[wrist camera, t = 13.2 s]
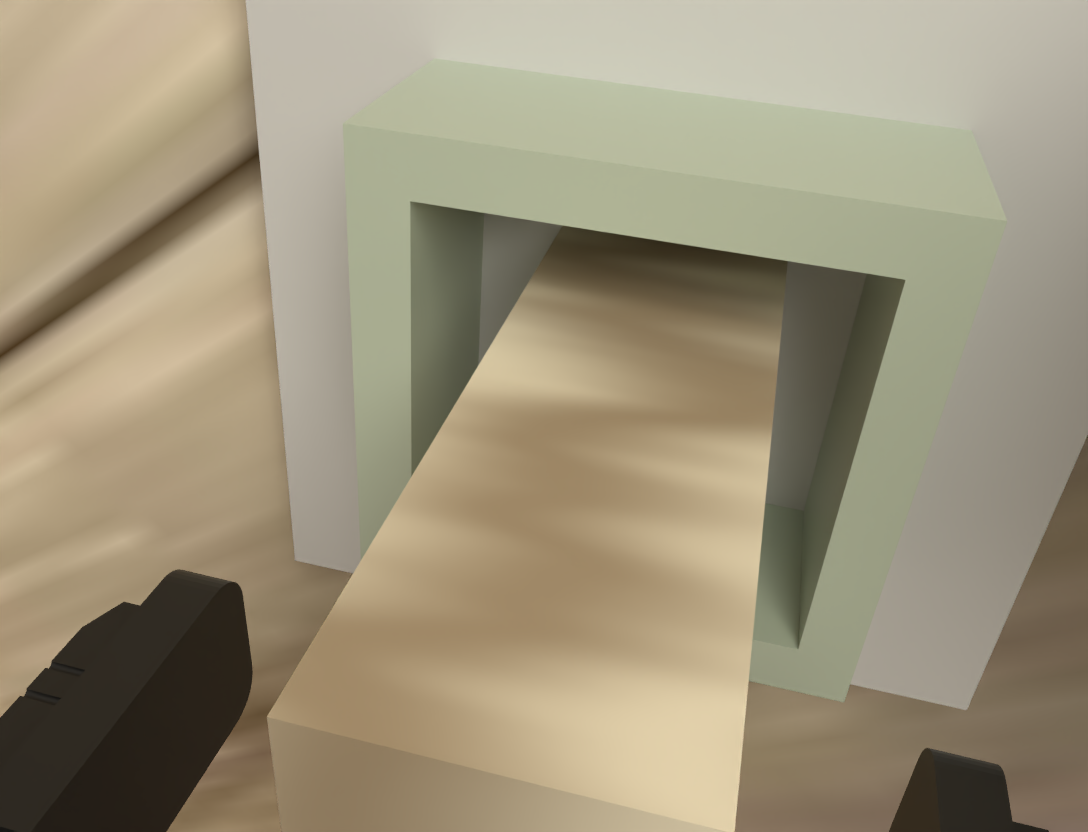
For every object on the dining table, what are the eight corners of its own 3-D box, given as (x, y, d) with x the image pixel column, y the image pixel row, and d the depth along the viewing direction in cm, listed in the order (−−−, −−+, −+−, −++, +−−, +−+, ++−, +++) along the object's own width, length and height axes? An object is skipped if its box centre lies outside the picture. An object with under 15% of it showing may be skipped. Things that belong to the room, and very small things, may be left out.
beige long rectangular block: (788, 250, 18) (715, 1025, 7) (748, 436, 20) (644, 1253, 9) (568, 216, 19) (171, 872, 7) (552, 400, 21) (229, 1119, 10)
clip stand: (1285, -99, 15) (1471, -48, 10) (961, 671, 23) (989, 870, 19) (263, -196, 17) (74, -187, 13) (315, 530, 26) (213, 679, 22)
